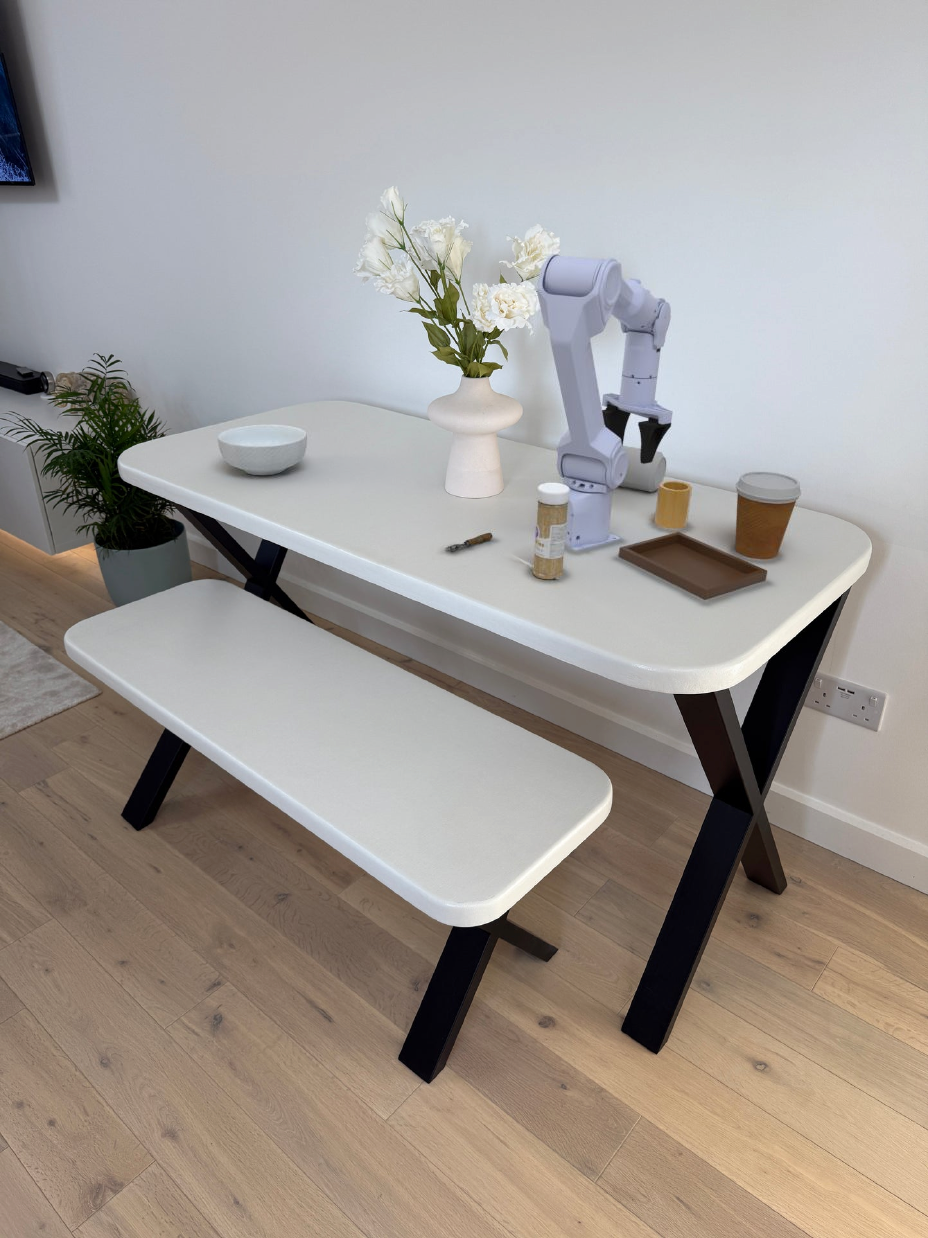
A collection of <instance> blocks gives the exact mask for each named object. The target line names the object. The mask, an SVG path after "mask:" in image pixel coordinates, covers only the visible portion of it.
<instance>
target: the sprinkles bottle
mask: <svg viewBox="0 0 928 1238" xmlns="http://www.w3.org/2000/svg"><path fill="white" fill-rule="evenodd" d="M569 498H570V488H569V487H568V486H566V485H565V484H563V483H560V482H544V483H541V484H539V485H538V486H537V490H536V499H537V511H536V513H537V514H536V516H537V517H536V524H535V538H534V549H533V550H534V557H533V567H532V574H533V575H534V576H535V577H536V578H539V579H541V580H555V579H556V578H559V577H561V576H562V575H563V574H564V570H563V568H564V567H563V565H564V556H565V549H566V546H565V539H566V526H567V509H568V501H569Z"/></svg>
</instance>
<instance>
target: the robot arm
mask: <svg viewBox="0 0 928 1238" xmlns="http://www.w3.org/2000/svg"><path fill="white" fill-rule="evenodd" d="M536 294H537V299H538V303H539V308H540V312H541V318H542V321H543V322H542V323H543V325H544V326H545V327H546V328H547V329H548V331H549V340H550V346H551V351H552V356H553V360H554V365H555V370H556V375H557V381H558V384H559V388H560V393H561V398H562V403H563V408H564V412H565V418H566V422H567V426H568V429H567V430H566V431H564V433H563V434H562V436H561V437H560V439H559V441H558V442H557V446H556V452H557V459H556V468H557V473H558V474H559V477H560V478H562V479H563V483H562V484H564V485H566V486H568V487H569V488H570V498H569V501H568V509H567V526H566V539H565V547H568V548H569V549H571V550H573V551H580V550H584V549H588V548H591V547H596V546H600V545H603V544H604V545H605V544H608V543H611V542H615V541H618V540H621V537H619V536H618V535H616V534H613V533H611V532H610V525H611V514H612V505H613V497H614V490H615V489H616V488H618V487H620V486H619V485H620V484H621V483H622V482H623V480H624V478H625V475H626V472H627V468H628V456H627V453H626V451H625V449H624V448H623V446H624V440H625V433H626V429H627V425H628V421H629V419H630V417H631V414H633V415H636V416H639V417H641V418H645V419H647V420H642V421H638V422H637V426H638V430H639V435H640V449H641V452H640V461H641V463H642V464H646V463H651V462H652V461H653V458H654V456H655V453H656V451H657V450H658V447H659V446H660V444H661V442H662V440H663V438H664V437H665V436H666V434H667V432H668V431H669V430H670V429H671V427H672V420H673V419H672V418H673V410H670V409H668V408H665V406H662V405H660V404H659V403H658V400H657V399H656V392H657V384H658V375H659V367H660V358H661V350H662V348H663V347H664V345H665V343H666V336H667V332H668V330H669V326H670V324H671V317H672V315H671V312H672V310H671V309H672V308H671V305H670V303H669V302H668V301H666V299H665V298H661V297H655V296H653V294H651V290H650V289H646V288H645V287H643V285H642V281H641V279H639V278H636V277H634V278H633V277H629V278H628V279H625V278H624V277H623V273H622V263H621V262H619V261H618V260H617V259H616V258H614V257H608V258H597V257H585V256H567V255H561V254H558V253H551V254H550V255H549V256H547V257H546V259H545V260H544V261H543V263H542V265H541V268H540V270H539V275H538V280H537V284H536ZM611 316H613V317H614V318H615V319H617V320H618V322H619V323H620V329H621V333H623V334H625V339H624V348H623V349H624V351H623V360H622V369H621V371H622V372H621V380H620V387H619V388H620V389H619V390H620V391H619V394H617V393H613V392H610V393H603V394H602V401H601V396H600V390H599V384H598V378H597V373H596V366H595V360H594V355H593V349H592V343H591V339H592V338H593V337H596V336H597V335H599V334H601V333H603V332H604V331H605V329H606V327H607V323H608V322H609V320H610V318H611ZM602 407H604V408H605V409H603V408H602Z"/></svg>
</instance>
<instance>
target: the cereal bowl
mask: <svg viewBox="0 0 928 1238" xmlns="http://www.w3.org/2000/svg"><path fill="white" fill-rule="evenodd" d="M217 443H218V449H219V453H220V454H221V457H222V458H223V460H225V462H227V463H228V464H229V465H230V466H232V467H235V468H237V469H240V470H243V471H244V472H245V473H246V474H250V475H253V476H271V475H272V476H273V475H278V474H281V473H283V472H284V471H286V469H288V468H291V467H293V466H295V465H296V464H298V463H299V462H300V461H301V460H302V459H303V458H304V456H305V454H306V451H307V447H308V435H307V432H306V431H305V430H304V429H301V428H299V427H296V426H291V425H285V424H252V425H245V426H236V427H234V428H233V427H232V428H229V429H226V430H224V431H223V430H222V431H221V432H220V433H219V434H218V435H217Z"/></svg>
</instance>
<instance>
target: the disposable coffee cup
mask: <svg viewBox="0 0 928 1238" xmlns="http://www.w3.org/2000/svg"><path fill="white" fill-rule="evenodd" d="M735 489H736V493H737V498H736V499H737V500H736V520H735V545H734V551H735V552H736V553H737V554H739V555H741V556H742V557H745V558H749V559H753V560H763V561H764V560H772V559H774V558H776V557H777V556H778V554H779V551H780V548H781V546H782V543H783V539H784V538H785V534H786V531H787V528H788V526H789V524H790V523H789V522H790V519H791V518H792V517H791V516H792V514H793V511H794V509H795V506H796V503H797V500H798V499H799V497H801V495H802V490H801V482H800V481H799V480H798V479H796V478H794V477H792V476H790V475H787V474H783V473H779V472H772V471H749V472H745V473H742V474H741V475H740V477H739V479H738V481H737V482H735Z"/></svg>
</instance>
